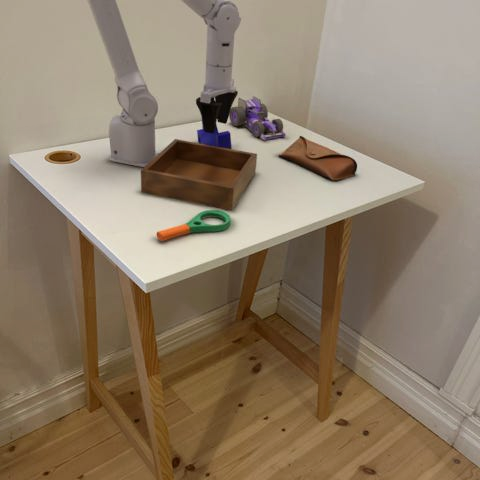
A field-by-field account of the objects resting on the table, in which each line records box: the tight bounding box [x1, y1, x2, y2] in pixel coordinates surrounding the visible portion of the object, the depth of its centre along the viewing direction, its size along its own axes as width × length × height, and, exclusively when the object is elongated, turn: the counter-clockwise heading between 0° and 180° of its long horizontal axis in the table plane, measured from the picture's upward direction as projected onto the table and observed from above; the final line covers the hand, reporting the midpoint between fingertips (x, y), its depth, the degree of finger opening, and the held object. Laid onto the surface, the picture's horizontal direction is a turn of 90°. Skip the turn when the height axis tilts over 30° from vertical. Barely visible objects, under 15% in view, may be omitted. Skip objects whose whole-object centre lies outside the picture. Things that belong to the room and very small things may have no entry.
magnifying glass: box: [155, 209, 231, 242], centre depth 93 cm, size 15×6×2 cm, turn 131°
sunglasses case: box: [278, 135, 358, 181], centre depth 121 cm, size 18×7×7 cm, turn 44°
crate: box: [140, 138, 258, 211], centre depth 108 cm, size 19×19×5 cm
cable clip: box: [196, 120, 232, 149], centre depth 121 cm, size 12×4×6 cm, turn 21°
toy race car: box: [228, 95, 286, 142], centre depth 135 cm, size 10×15×6 cm, turn 33°
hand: (215, 127), depth 120 cm, fingers open, 7 cm apart
